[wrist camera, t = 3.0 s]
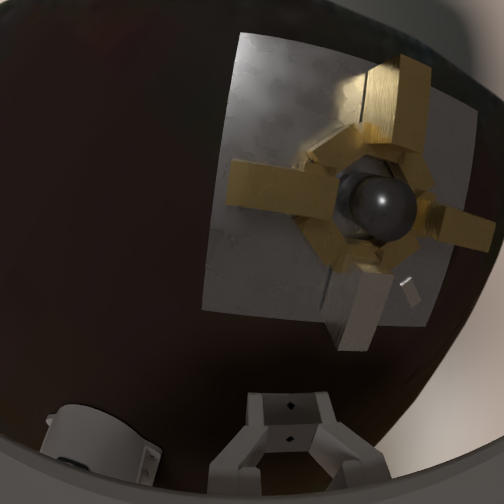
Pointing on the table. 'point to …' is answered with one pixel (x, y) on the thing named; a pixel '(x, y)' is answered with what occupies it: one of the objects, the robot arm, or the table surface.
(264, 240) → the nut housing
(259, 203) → the gold propeller
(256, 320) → the table surface
